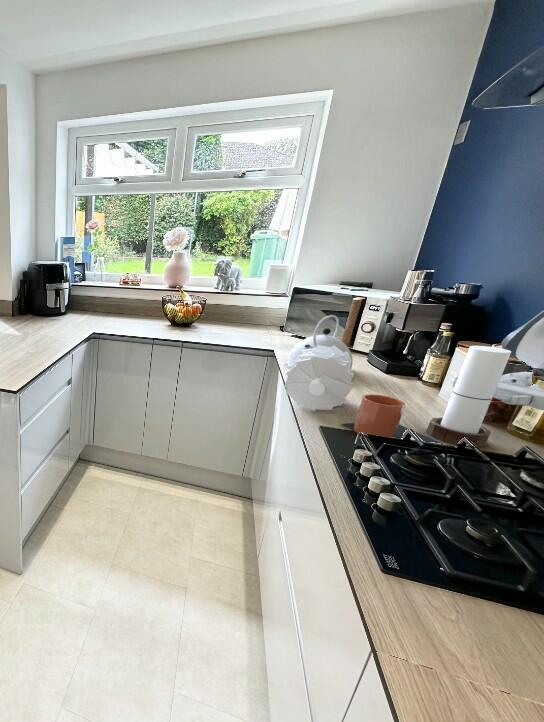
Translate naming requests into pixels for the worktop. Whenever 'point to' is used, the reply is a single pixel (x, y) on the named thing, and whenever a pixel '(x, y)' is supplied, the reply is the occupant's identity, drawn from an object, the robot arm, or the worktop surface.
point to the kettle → (319, 343)
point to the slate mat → (398, 432)
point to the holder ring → (456, 433)
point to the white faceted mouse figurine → (320, 378)
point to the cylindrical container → (475, 388)
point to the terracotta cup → (378, 415)
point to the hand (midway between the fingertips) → (485, 393)
